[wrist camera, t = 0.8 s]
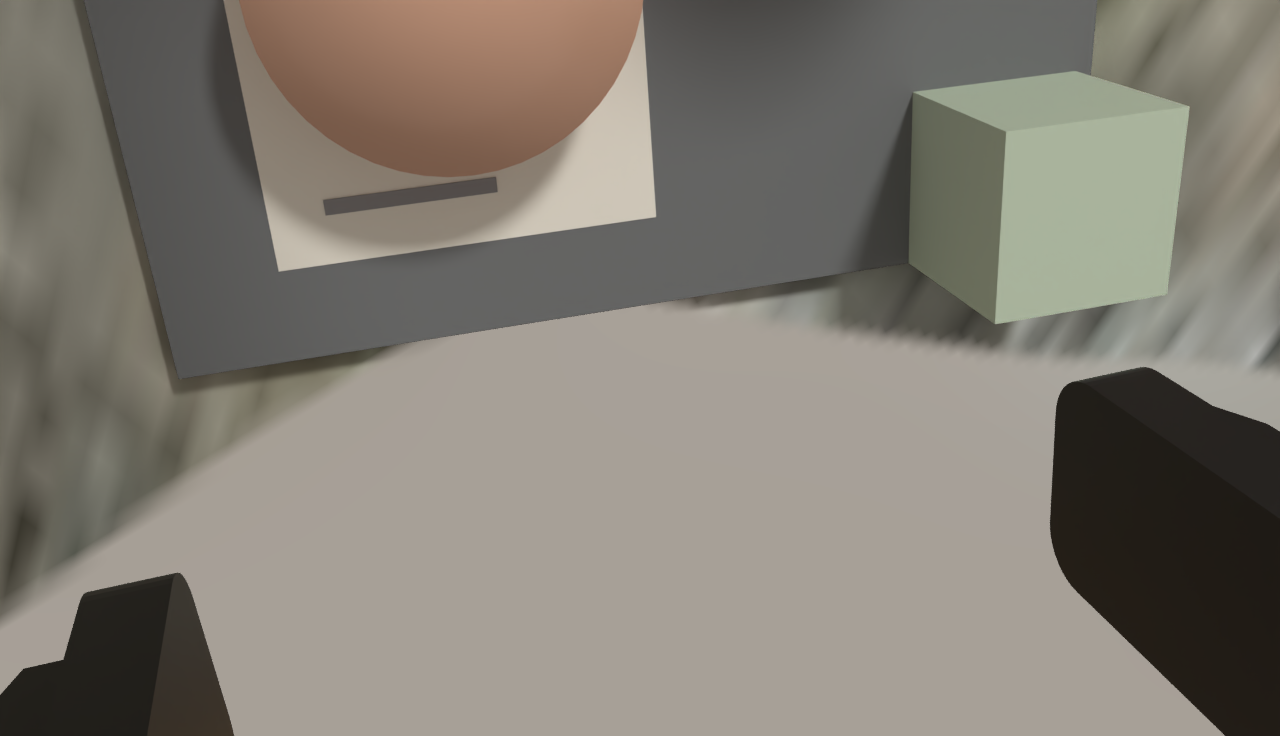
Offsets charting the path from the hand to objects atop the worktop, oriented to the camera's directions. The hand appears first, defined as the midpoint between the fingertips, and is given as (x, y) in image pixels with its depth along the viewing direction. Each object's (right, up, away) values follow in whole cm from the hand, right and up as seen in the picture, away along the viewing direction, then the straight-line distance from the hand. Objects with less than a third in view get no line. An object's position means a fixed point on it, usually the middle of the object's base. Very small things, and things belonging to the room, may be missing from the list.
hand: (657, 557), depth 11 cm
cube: (+10, +7, +24) cm, 27 cm away
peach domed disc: (-5, +11, +18) cm, 22 cm away
